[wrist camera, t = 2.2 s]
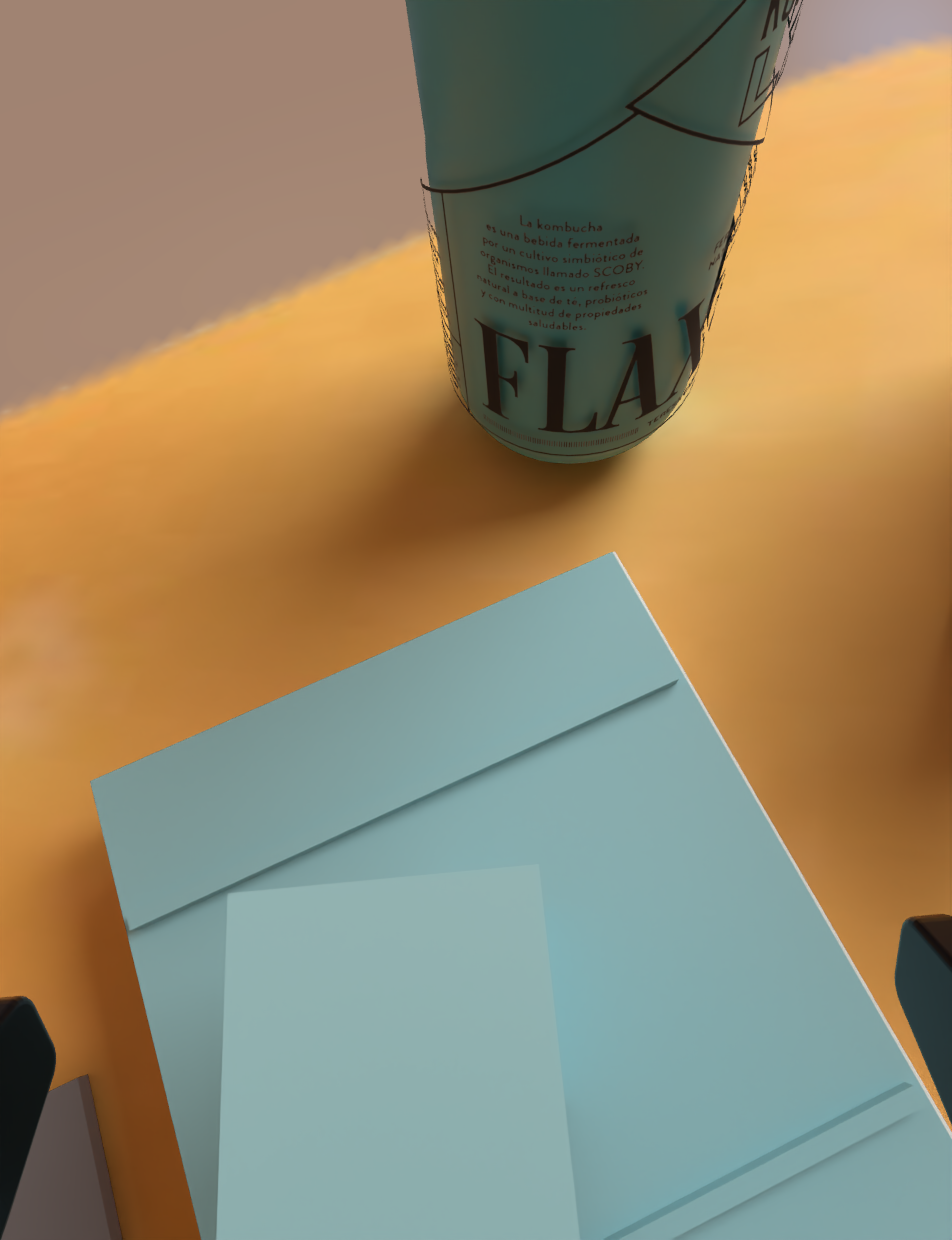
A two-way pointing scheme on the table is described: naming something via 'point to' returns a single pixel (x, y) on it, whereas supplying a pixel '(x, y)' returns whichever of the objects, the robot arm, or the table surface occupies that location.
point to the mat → (65, 1174)
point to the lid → (505, 959)
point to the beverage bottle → (586, 200)
